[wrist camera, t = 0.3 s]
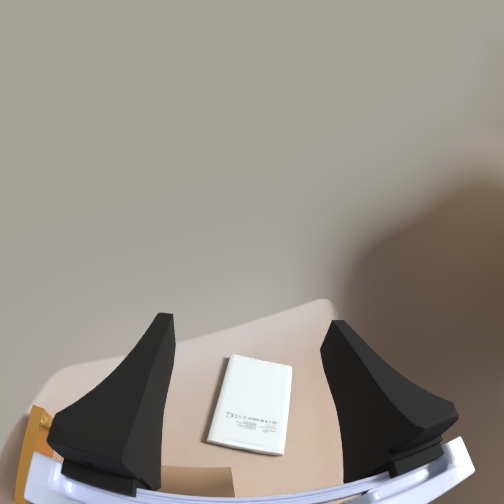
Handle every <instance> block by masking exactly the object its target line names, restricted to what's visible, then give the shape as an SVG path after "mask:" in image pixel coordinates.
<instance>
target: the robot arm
mask: <svg viewBox="0 0 504 504" xmlns="http://www.w3.org/2000/svg"><path fill="white" fill-rule="evenodd" d="M175 347H176V343H175V333H174V321H173V314H168V313H158V314H157V316H156V317H155V319H154V320H153V322H152V323H151V325H150V326H149V328H148V330H147V331H146V332H145V334H144V335H143V336H142V338H141V339H140V340H139V342H138V343H137V345H136V346H135V347H134V349H133V350H132V351H131V352H130V353H129V354H128V356H127V357H126V358H125V359H124V360H123V361H122V362H121V364H120V365H119V366H118V367H117V368H116V369H115V370H114V371H113V372H112V373H111V374H110V375H109V376H108V377H107V378H105V379H104V380H103V381H102V382H101V383H100V384H99V385H98V386H96V387H95V388H94V389H93V390H91V391H90V392H89V393H87V394H86V395H85V396H83V397H82V398H81V399H79V400H78V401H76V402H75V403H73V404H72V405H70V406H68V407H67V408H65V409H63V410H62V411H60V412H58V413H56V415H55V417H54V419H53V421H52V423H51V426H50V429H49V433H48V436H47V439H46V441H47V443H48V445H49V446H50V447H51V448H52V449H53V450H54V451H56V452H57V453H58V454H59V455H61V456H62V457H63V458H64V461H63V464H62V463H60V462H59V461H56V460H54V459H52V458H50V457H47V456H45V455H43V454H41V453H38V452H36V451H34V452H33V455H32V459H31V463H30V467H29V471H28V476H27V480H26V485H25V491H24V496H23V497H24V498H25V499H26V500H28V501H29V502H31V503H33V504H322V503H327V502H331V501H335V500H340V499H344V498H347V497H351V496H355V495H358V494H361V493H362V494H361V496H359V497H356V498H353V499H350V500H347V501H344V502H342V503H340V504H427V503H428V502H430V501H432V500H434V499H435V498H437V497H438V496H440V495H442V494H443V493H445V492H446V491H448V490H449V489H451V488H452V487H454V486H455V485H457V484H458V483H460V482H461V481H462V480H464V479H466V478H467V477H468V476H470V475H471V474H472V473H474V472H475V469H474V467H473V464H472V462H471V459H470V457H469V454H468V452H467V450H466V447H465V445H464V443H463V441H462V438H461V437H458V438H456V439H454V440H452V441H450V442H448V443H446V444H445V445H443V446H442V447H441V444H440V442H441V441H442V440H443V439H442V436H441V434H442V433H444V432H445V431H446V430H447V429H449V428H450V427H451V426H452V425H453V424H454V423H455V422H456V421H457V420H458V418H459V414H458V412H457V410H456V408H455V406H454V404H453V403H452V402H450V401H448V400H445V399H443V398H440V397H437V396H436V395H434V394H432V393H429V392H428V391H426V390H424V389H422V388H420V387H419V386H417V385H416V384H414V383H412V382H411V381H409V380H408V379H406V378H405V377H404V376H402V375H401V374H400V373H398V372H397V371H396V370H394V369H393V368H392V367H391V366H389V365H388V364H387V363H386V362H385V361H384V360H383V359H382V358H381V357H379V356H378V355H377V354H376V353H375V352H374V351H373V350H372V349H371V348H370V347H369V346H368V345H367V344H366V343H365V342H364V341H363V340H362V339H361V338H360V336H359V335H358V334H357V333H356V332H355V331H354V330H353V329H352V328H351V327H350V326H349V325H348V324H347V323H346V322H345V321H344V320H332V322H331V324H330V327H329V329H328V332H327V334H326V336H325V339H324V341H323V344H322V346H321V348H320V352H321V358H322V364H323V368H324V372H325V375H326V378H327V381H328V384H329V387H330V390H331V394H332V397H333V400H334V403H335V406H336V410H337V415H338V420H339V426H340V433H341V440H342V451H343V471H344V478H343V482H344V484H342V485H338V486H333V487H329V488H324V489H319V490H313V491H307V492H300V493H293V494H285V495H275V496H262V497H236V498H226V497H200V496H187V495H177V494H169V493H162V492H156V491H157V490H159V489H160V488H161V444H162V427H163V414H164V408H165V402H166V397H167V393H168V388H169V383H170V379H171V374H172V370H173V365H174V356H175Z"/></svg>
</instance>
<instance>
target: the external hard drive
mask: <svg viewBox="0 0 504 504" xmlns="http://www.w3.org/2000/svg"><path fill="white" fill-rule="evenodd" d="M291 377H292V367H291V366H288V365H282V364H277V363H272V362H267V361H262V360H258V359H253V358H249V357H244V356H240V355H235V354H231V355H230V359H229V362H228V366H227V369H226V373H225V377H224V380H223V384H222V387H221V391H220V395H219V398H218V402H217V405H216V409H215V412H214V416H213V420H212V423H211V427H210V431H209V434H208V438H207V442H210V443H214V444H218V445H222V446H227V447H231V448H236V449H238V448H239V449H244V450H250V451H252V452H258V453H264V454H270V455H278V456H282V455H283V453H284V445H285V438H286V429H287V420H288V410H289V400H290V390H291Z"/></svg>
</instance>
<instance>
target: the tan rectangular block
mask: <svg viewBox="0 0 504 504" xmlns="http://www.w3.org/2000/svg"><path fill="white" fill-rule="evenodd" d="M156 492H162V493H169V494H177V495H187V496H200V497H226V498H235V494H234V487H233V480H232V473H231V467H227V468H188V467H170V466H161V488H160V489H159V490H157V491H156Z"/></svg>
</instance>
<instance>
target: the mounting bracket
mask: <svg viewBox="0 0 504 504" xmlns="http://www.w3.org/2000/svg"><path fill="white" fill-rule="evenodd" d="M53 419H54V418H52V417H51V416H50V415H49V414H48V413H47V412H46V411H45V409H43V408H40V407H38V406H35V405H33V407H32V410H31V413H30V417H29V420H28V424H27V428H26V432H25V436H24V440H23V445H22V449H21V454H20V460H19V465H18V471H17V478H16V486H15V495H14V501H15V502H16V503H18V504H33V503H31V502H29V501H28V500H26V499H25V498H24V497H23V496H24V491H25V485H26V480H27V476H28V471H29V467H30V463H31V459H32V455H33V452H34V451H36V452H38V453H41V454H43V455H45V456H47V457H50V458H52V452H53V449H52V448H51V447H50V446H49V445H48V443H47V441H46V439H47V436H48V433H49V429H50V426H51V423H52V421H53Z"/></svg>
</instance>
